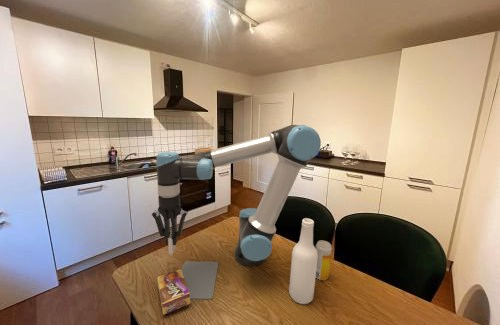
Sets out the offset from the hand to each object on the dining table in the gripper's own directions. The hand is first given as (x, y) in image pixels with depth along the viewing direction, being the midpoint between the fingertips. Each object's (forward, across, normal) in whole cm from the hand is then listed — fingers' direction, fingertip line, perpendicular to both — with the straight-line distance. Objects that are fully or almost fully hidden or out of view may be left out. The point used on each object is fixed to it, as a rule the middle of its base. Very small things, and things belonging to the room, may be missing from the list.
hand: (171, 251), depth 82 cm
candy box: (+10, +1, +2) cm, 10 cm away
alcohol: (+12, -50, +8) cm, 52 cm away
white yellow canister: (+12, -60, -2) cm, 62 cm away
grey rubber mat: (+12, -10, 0) cm, 15 cm away
